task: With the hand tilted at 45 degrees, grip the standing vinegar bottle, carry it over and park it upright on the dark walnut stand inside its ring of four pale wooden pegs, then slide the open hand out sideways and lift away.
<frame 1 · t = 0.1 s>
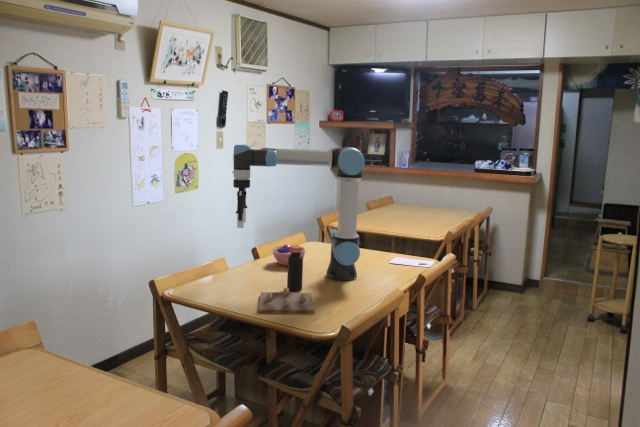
hand: (241, 224, 247), 28 cm above the table, tool pointing down, fingers open, 13 cm apart
vinegar: (294, 290, 245), on the table
cell model: (288, 264, 288), on the table
peg stand: (286, 304, 225), on the table
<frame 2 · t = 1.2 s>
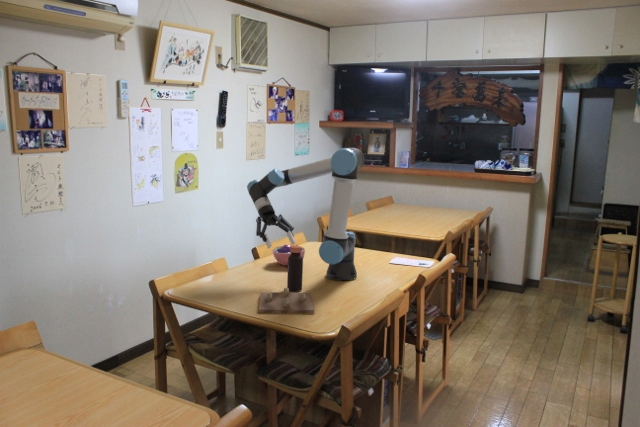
hand: (282, 245, 250), 19 cm above the table, tool tilted 45°, fingers open, 13 cm apart
nothing on the table moved.
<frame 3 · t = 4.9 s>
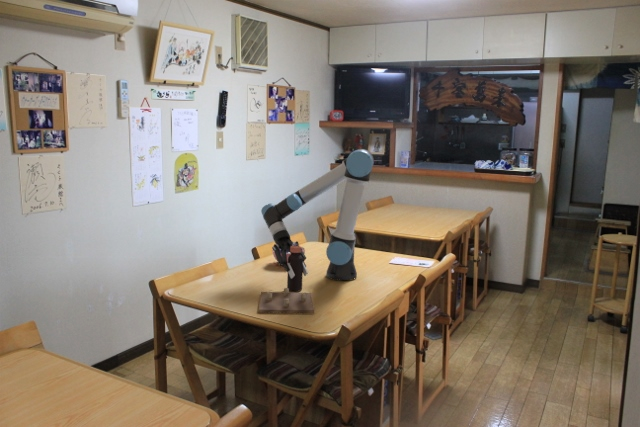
hand: (299, 275, 241), 7 cm above the table, tool tilted 45°, fingers closed on vinegar, 7 cm apart
vinegar: (294, 290, 245), on the table, touching gripper
everything else where it was.
when the fingers open (10 cm above the table, at t = 13.2 s): vinegar stays where it is, resting on peg stand.
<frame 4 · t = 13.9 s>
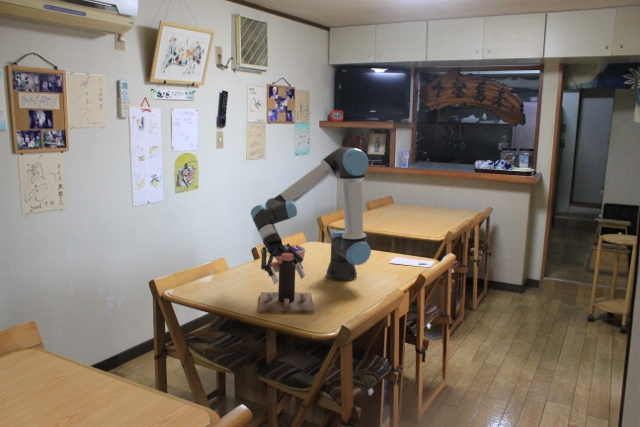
hand: (290, 279, 221), 11 cm above the table, tool tilted 45°, fingers open, 13 cm apart
vinegar: (286, 301, 225), point 1 cm above the table, touching peg stand
everything else where it was.
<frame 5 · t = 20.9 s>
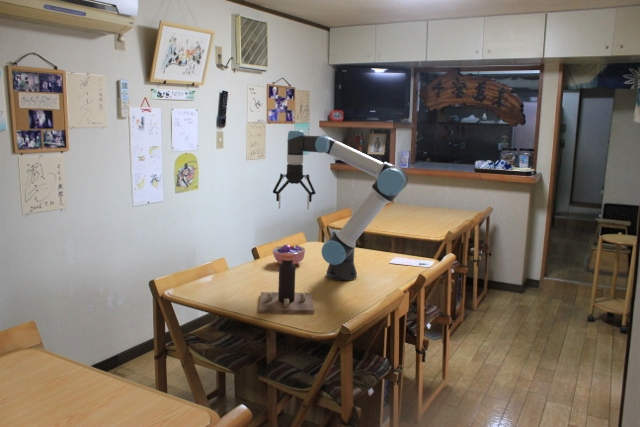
hand: (293, 208, 256), 35 cm above the table, tool pointing down, fingers open, 13 cm apart
nothing on the table moved.
at the end: vinegar inside the target area on the peg stand (0.2 cm from its centre), point 1.3 cm above the peg stand's base; vinegar tilted 0°; the gripper is holding nothing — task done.
